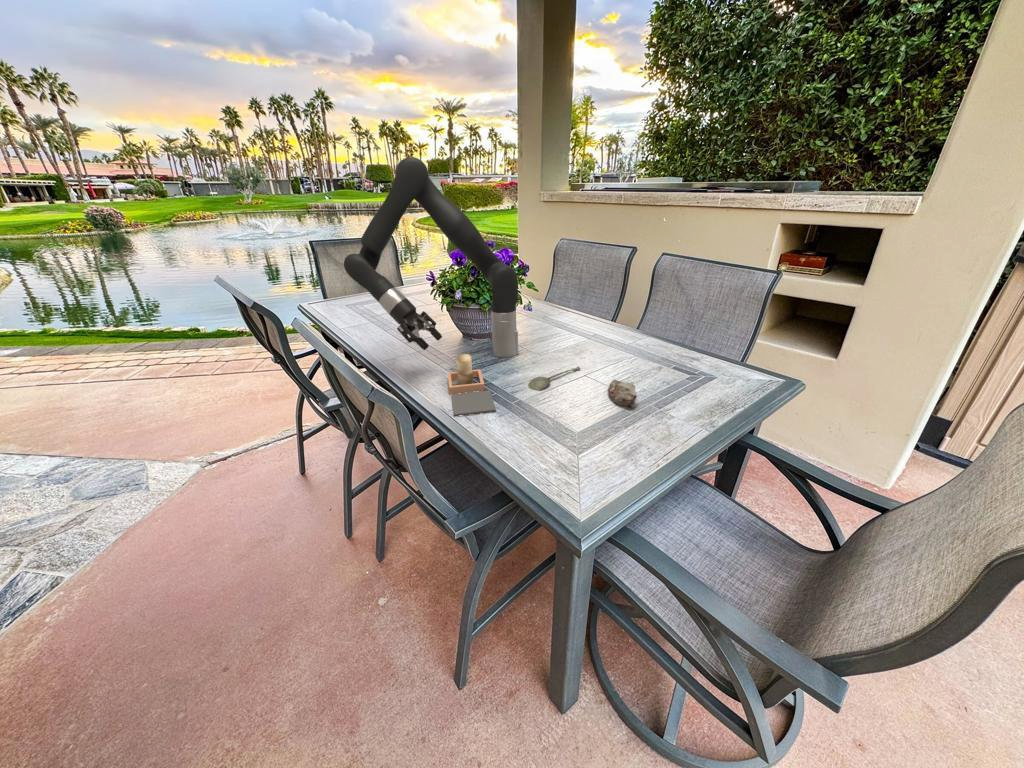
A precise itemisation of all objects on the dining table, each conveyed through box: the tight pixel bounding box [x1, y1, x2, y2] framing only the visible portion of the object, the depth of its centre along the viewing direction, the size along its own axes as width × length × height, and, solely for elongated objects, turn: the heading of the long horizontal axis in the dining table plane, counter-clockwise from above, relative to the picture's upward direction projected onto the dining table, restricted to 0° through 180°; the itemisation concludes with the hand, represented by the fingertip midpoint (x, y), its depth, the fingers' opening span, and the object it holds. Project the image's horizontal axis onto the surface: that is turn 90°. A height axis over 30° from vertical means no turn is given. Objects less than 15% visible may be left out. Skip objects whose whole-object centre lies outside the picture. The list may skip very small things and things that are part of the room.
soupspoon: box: [527, 366, 581, 392], centre depth 131 cm, size 22×3×7 cm
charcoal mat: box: [451, 390, 497, 417], centre depth 117 cm, size 12×12×1 cm
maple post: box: [455, 353, 474, 385], centre depth 126 cm, size 5×5×10 cm
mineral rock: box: [607, 379, 637, 408], centre depth 118 cm, size 15×8×4 cm, turn 168°
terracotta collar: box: [447, 368, 486, 395], centre depth 128 cm, size 11×11×2 cm
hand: (433, 343), depth 126 cm, fingers open, 8 cm apart
